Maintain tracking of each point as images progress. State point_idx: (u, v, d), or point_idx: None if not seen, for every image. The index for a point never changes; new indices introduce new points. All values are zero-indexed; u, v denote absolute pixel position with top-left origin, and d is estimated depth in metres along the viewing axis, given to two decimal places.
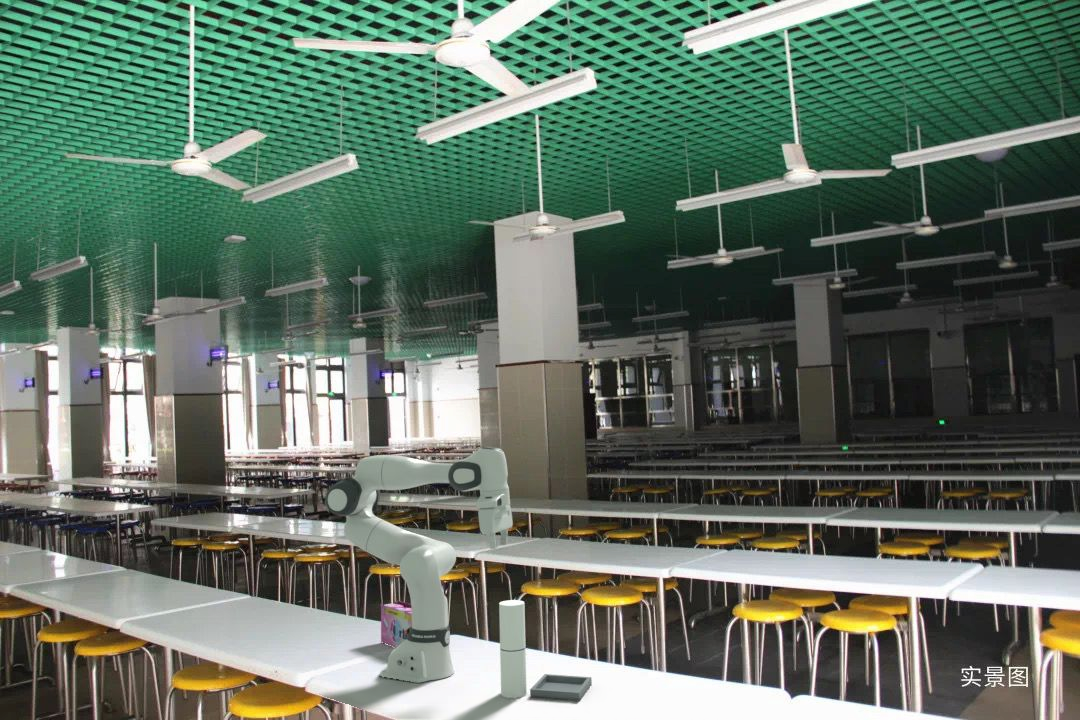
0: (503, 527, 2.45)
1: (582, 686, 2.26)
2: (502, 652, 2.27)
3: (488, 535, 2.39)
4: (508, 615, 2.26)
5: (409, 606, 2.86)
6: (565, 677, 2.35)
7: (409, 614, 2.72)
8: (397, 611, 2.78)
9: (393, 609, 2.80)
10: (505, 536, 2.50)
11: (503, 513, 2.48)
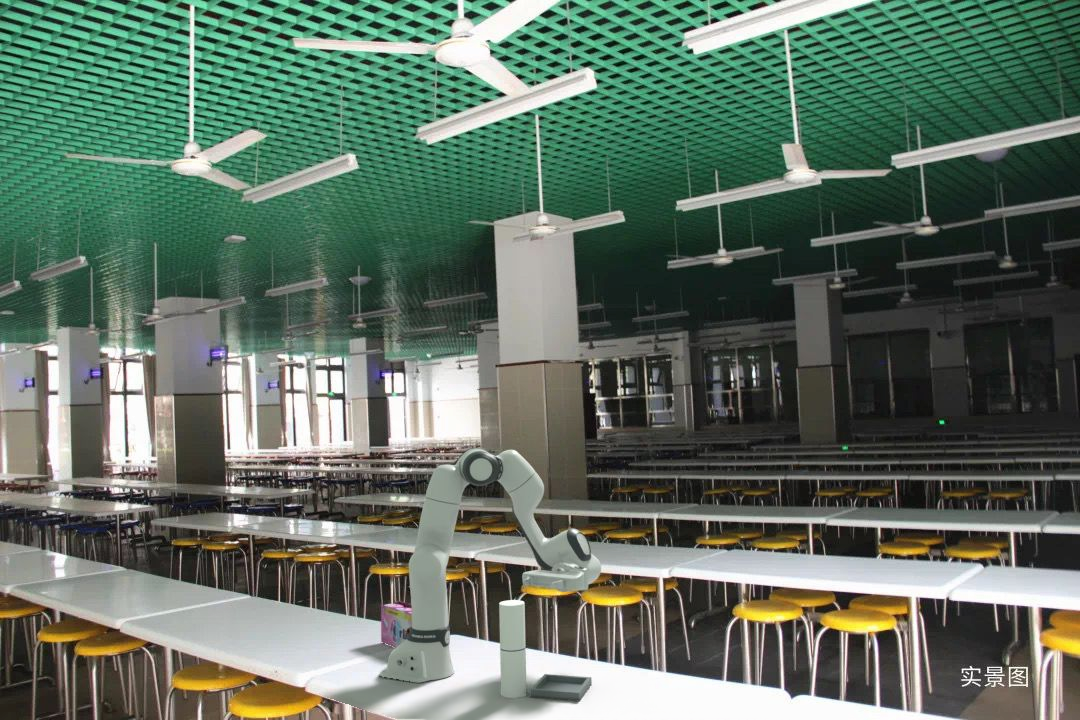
0: None
1: (582, 686, 2.26)
2: (502, 652, 2.27)
3: (563, 581, 2.39)
4: (509, 615, 2.26)
5: (409, 607, 2.86)
6: (565, 677, 2.35)
7: (409, 614, 2.72)
8: (397, 611, 2.78)
9: (393, 609, 2.80)
10: None
11: None
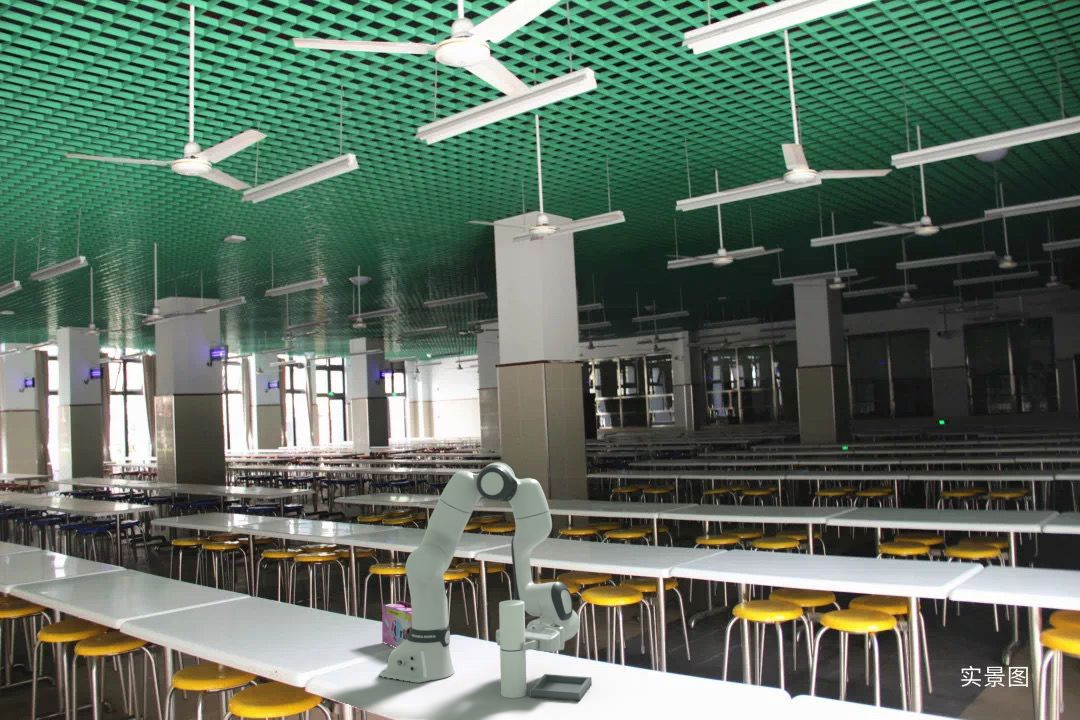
0: None
1: (582, 686, 2.26)
2: (502, 652, 2.27)
3: (536, 642, 2.28)
4: (508, 615, 2.26)
5: (410, 607, 2.86)
6: (565, 677, 2.35)
7: (409, 614, 2.71)
8: (398, 611, 2.77)
9: (394, 609, 2.80)
10: None
11: None
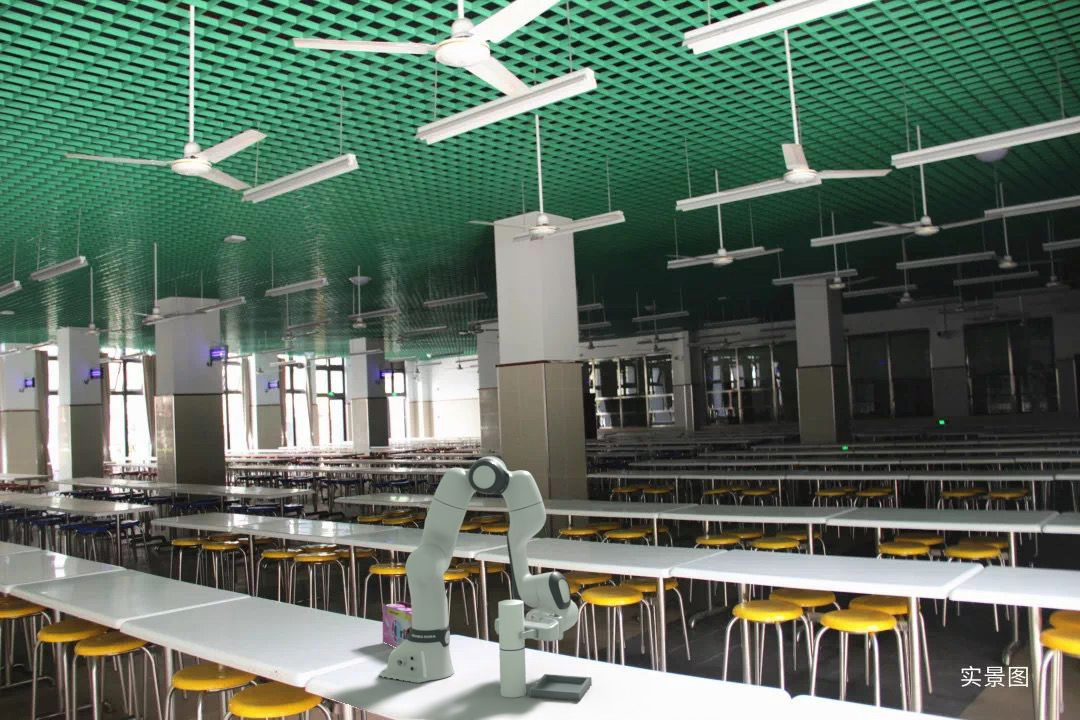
0: None
1: (582, 686, 2.26)
2: (501, 652, 2.27)
3: (535, 631, 2.29)
4: (508, 615, 2.27)
5: (411, 607, 2.86)
6: (565, 677, 2.35)
7: (409, 614, 2.71)
8: (398, 611, 2.77)
9: (394, 609, 2.79)
10: None
11: None
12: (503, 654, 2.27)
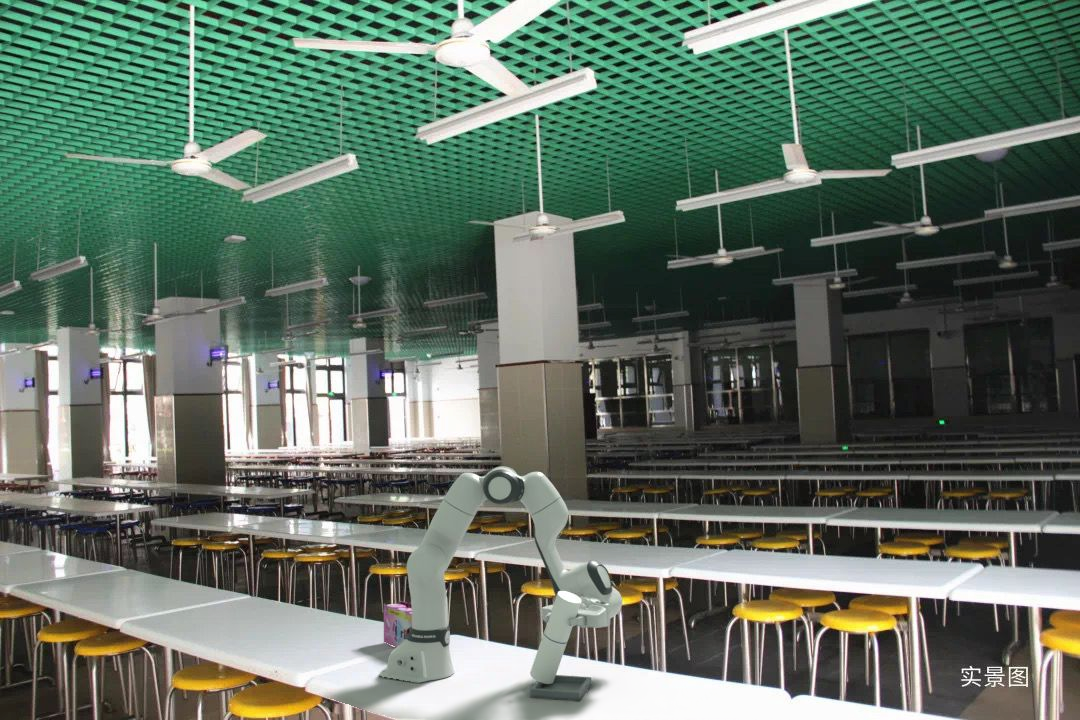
0: None
1: (582, 686, 2.26)
2: (545, 639, 2.31)
3: (583, 618, 2.30)
4: (564, 610, 2.29)
5: None
6: (565, 677, 2.35)
7: (410, 614, 2.71)
8: (398, 611, 2.77)
9: (395, 609, 2.79)
10: None
11: None
12: (546, 642, 2.30)
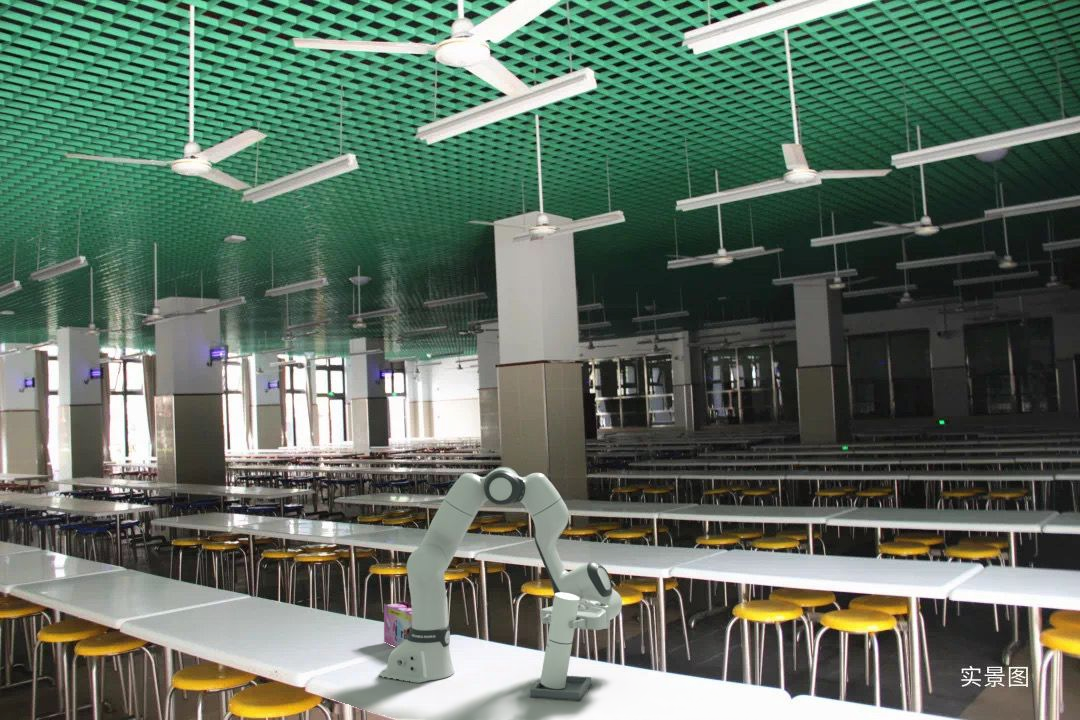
0: None
1: (582, 686, 2.26)
2: (553, 644, 2.28)
3: (585, 620, 2.29)
4: (568, 609, 2.28)
5: None
6: None
7: (410, 614, 2.71)
8: (399, 611, 2.77)
9: (395, 609, 2.79)
10: None
11: None
12: (555, 646, 2.28)
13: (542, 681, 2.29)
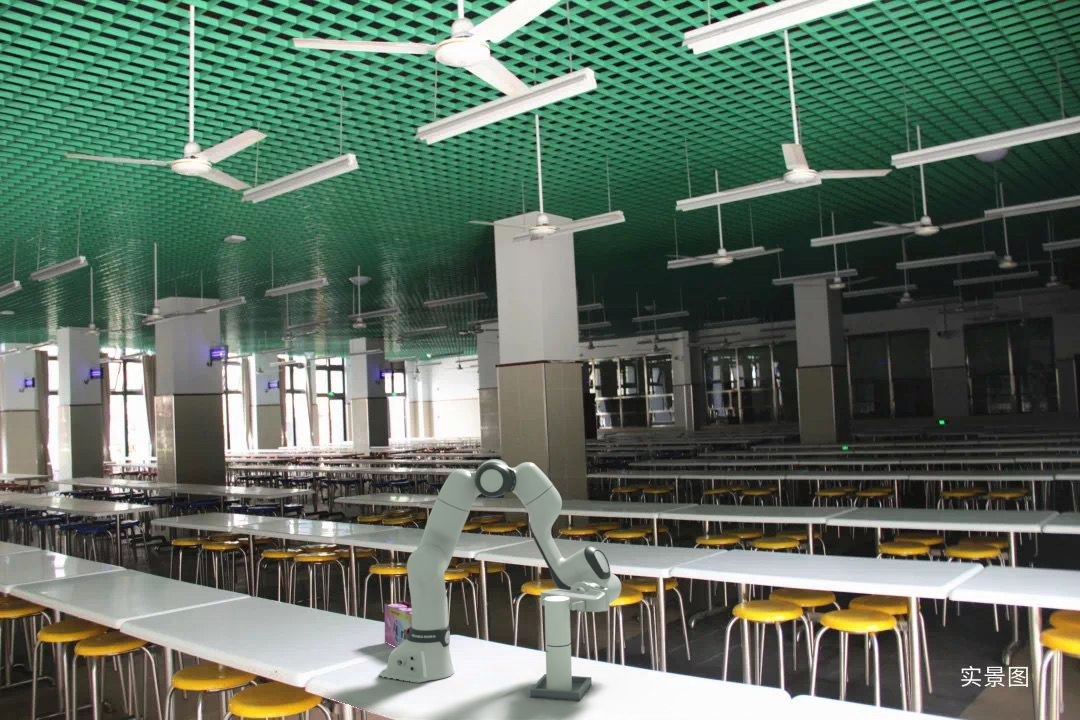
0: None
1: (582, 686, 2.26)
2: (551, 648, 2.27)
3: (584, 602, 2.30)
4: (559, 611, 2.28)
5: None
6: None
7: (410, 614, 2.71)
8: (399, 611, 2.77)
9: (395, 609, 2.79)
10: None
11: None
12: (553, 650, 2.27)
13: (548, 688, 2.28)
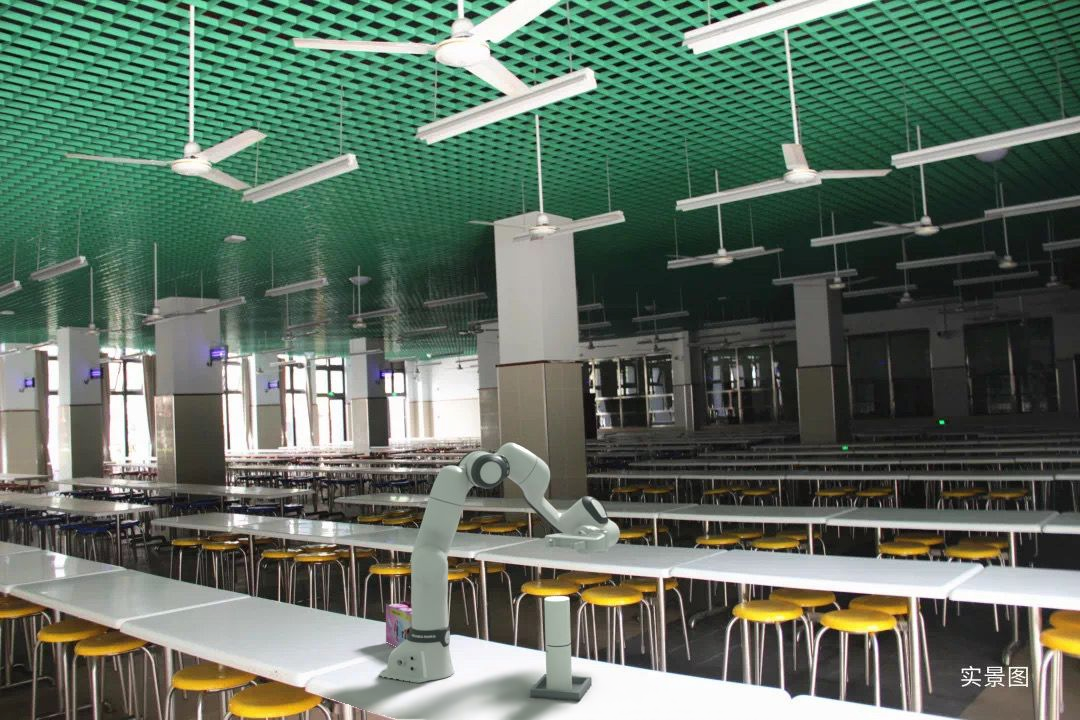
0: (570, 548, 2.53)
1: (582, 686, 2.26)
2: (551, 648, 2.27)
3: (585, 542, 2.48)
4: (559, 611, 2.28)
5: None
6: None
7: (410, 615, 2.71)
8: (400, 611, 2.77)
9: (396, 609, 2.79)
10: None
11: None
12: (553, 650, 2.27)
13: (548, 688, 2.28)
